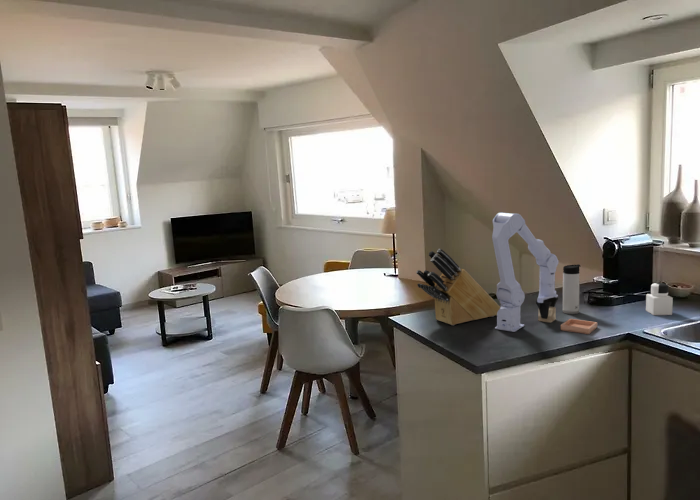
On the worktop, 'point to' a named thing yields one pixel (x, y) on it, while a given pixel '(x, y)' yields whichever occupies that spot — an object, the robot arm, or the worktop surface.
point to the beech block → (550, 317)
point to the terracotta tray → (579, 326)
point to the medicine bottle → (659, 300)
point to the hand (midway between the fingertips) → (546, 316)
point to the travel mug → (571, 289)
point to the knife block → (456, 292)
